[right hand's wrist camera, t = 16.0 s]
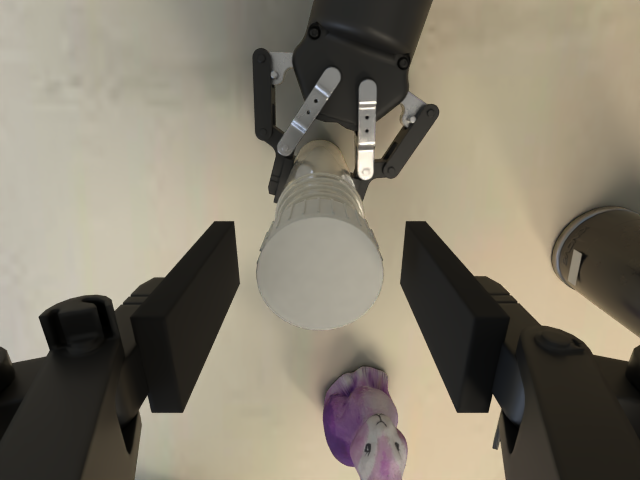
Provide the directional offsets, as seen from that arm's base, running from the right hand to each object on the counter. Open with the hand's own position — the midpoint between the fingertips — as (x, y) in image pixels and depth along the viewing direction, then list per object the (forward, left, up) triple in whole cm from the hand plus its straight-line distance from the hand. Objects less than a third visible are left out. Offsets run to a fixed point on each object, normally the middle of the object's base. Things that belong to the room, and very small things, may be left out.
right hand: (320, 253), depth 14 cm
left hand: (-2, +2, -15) cm, 15 cm away
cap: (0, 0, +2) cm, 2 cm away
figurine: (-26, +13, -21) cm, 36 cm away
